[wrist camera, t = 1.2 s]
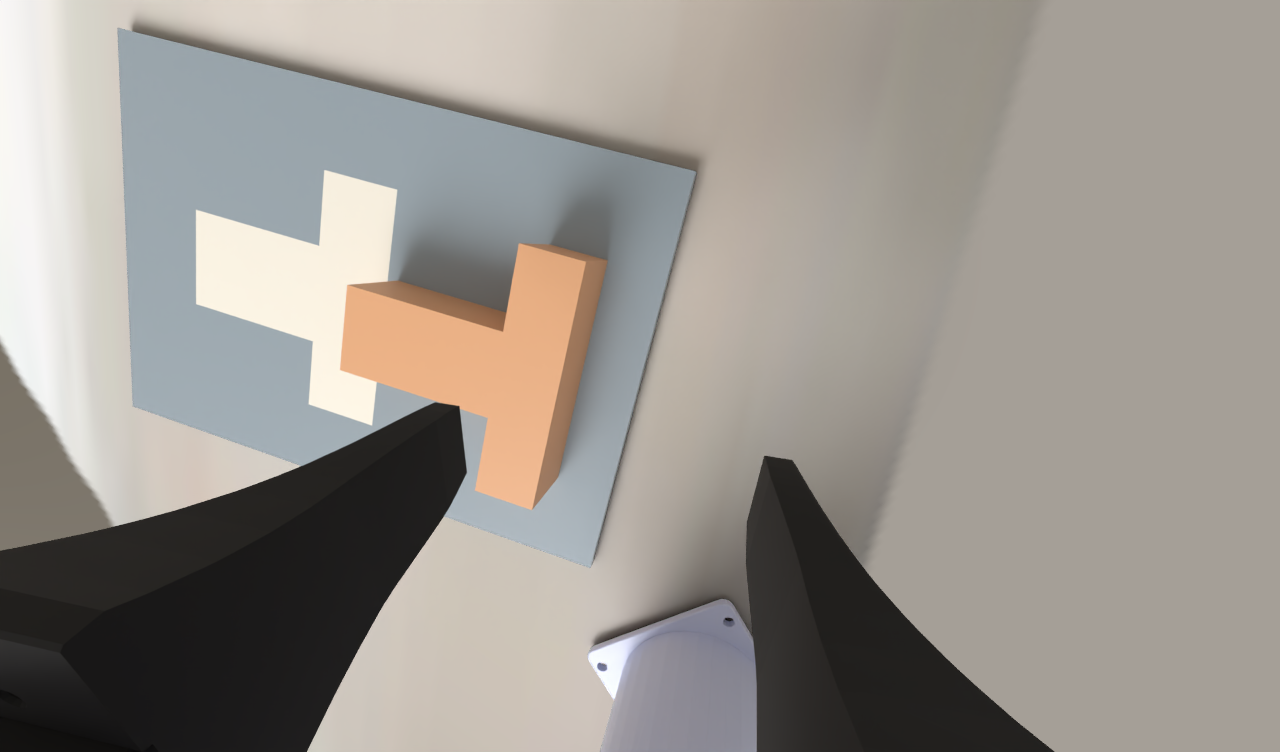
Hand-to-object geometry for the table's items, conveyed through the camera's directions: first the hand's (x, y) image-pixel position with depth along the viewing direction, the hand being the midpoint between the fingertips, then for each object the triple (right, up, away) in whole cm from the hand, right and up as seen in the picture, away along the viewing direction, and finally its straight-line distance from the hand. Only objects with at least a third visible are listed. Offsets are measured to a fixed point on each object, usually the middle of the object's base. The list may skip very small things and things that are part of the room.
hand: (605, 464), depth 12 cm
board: (-12, +5, +11) cm, 17 cm away
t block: (-6, +3, +10) cm, 12 cm away
